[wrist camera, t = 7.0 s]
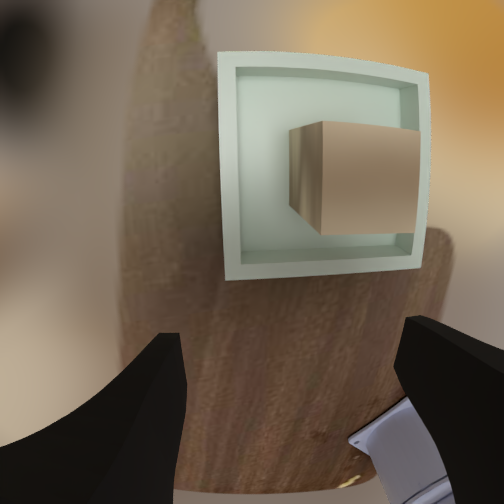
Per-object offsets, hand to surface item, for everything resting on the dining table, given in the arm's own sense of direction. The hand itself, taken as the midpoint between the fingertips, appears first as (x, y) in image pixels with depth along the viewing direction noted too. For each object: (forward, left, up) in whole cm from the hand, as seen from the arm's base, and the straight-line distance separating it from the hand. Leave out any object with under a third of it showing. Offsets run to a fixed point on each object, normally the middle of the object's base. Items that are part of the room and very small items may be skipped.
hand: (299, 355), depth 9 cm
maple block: (+2, -6, -9) cm, 11 cm away
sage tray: (+2, -6, -9) cm, 11 cm away
